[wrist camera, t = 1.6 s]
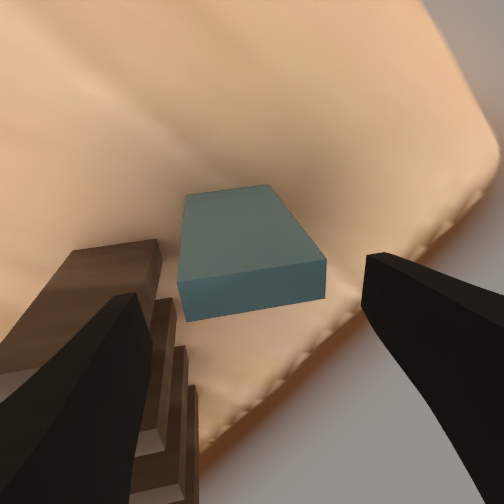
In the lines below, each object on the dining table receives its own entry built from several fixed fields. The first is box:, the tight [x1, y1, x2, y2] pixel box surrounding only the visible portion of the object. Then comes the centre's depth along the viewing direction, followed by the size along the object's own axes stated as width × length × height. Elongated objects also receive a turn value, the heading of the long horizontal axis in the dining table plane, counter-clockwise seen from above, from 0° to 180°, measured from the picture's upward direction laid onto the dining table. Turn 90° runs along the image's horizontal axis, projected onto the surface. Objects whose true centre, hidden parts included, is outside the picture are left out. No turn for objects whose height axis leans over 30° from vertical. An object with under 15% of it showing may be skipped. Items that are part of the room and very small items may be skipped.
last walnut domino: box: [168, 385, 199, 504], centre depth 21 cm, size 2×5×9 cm, turn 95°
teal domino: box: [177, 185, 327, 322], centre depth 14 cm, size 2×5×9 cm, turn 95°
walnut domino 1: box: [0, 239, 162, 403], centre depth 14 cm, size 2×5×9 cm, turn 95°
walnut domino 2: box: [135, 298, 177, 457], centre depth 16 cm, size 2×5×9 cm, turn 95°
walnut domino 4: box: [129, 345, 188, 504], centre depth 18 cm, size 2×5×9 cm, turn 95°
